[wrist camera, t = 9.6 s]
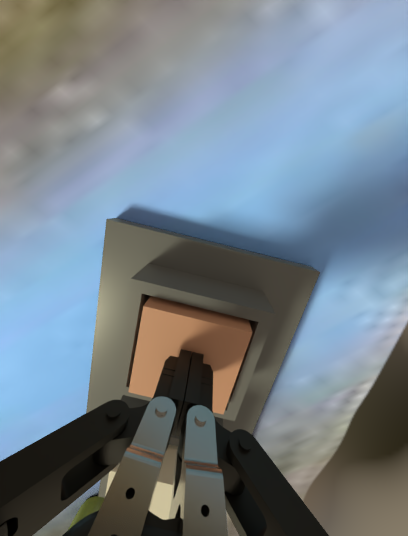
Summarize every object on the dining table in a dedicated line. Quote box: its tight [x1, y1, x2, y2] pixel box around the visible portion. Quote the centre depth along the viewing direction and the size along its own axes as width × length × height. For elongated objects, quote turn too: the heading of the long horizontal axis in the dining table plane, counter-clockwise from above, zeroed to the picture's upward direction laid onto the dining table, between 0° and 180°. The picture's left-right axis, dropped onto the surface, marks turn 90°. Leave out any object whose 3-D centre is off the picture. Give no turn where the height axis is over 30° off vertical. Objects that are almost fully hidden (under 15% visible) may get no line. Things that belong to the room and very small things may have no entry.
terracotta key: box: [128, 296, 252, 414], centre depth 15 cm, size 7×7×3 cm
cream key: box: [105, 445, 178, 520], centre depth 17 cm, size 7×7×3 cm
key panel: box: [86, 218, 320, 498], centre depth 18 cm, size 16×26×5 cm, turn 167°
